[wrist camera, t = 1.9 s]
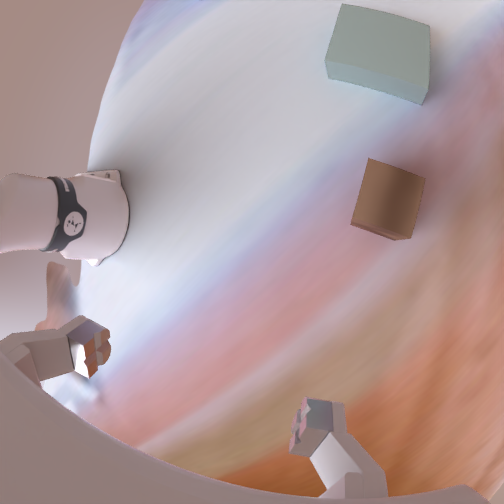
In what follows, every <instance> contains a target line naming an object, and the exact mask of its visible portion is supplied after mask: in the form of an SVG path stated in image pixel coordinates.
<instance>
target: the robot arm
mask: <svg viewBox="0 0 504 504" xmlns="http://www.w3.org/2000/svg"><path fill="white" fill-rule="evenodd" d="M128 219H129V208H128V201H127V197H126V194H125V192H124V190H123V188H122V186H121V180H120V173H119V171H118V170H105V171H96V172H87V173H79V174H76V175H75V176H74V177H70V178H66V179H64V178H61V177H47V178H42V177H36V176H30V175H24V174H18V173H12V174H9V175H7V176H5V177H4V178H2V179H1V180H0V254H1V253H4V252H9V251H15V250H25V249H39V250H40V251H46V252H59V251H60V253H61V254H62V255H63V256H64V258H67V259H86V260H87V261H88V262H89V263H90V265H92V266H98V265H99V264H100V263H101V261H102V260H103V259H104V258H105V257H108V256H110V255H112V254H113V253H114V252H115V251H116V250H117V249H118V248H119V247H120V245H121V243H122V241H123V239H124V237H125V234H126V231H127V226H128ZM109 338H110V331H109V330H108V329H107V328H105V327H103V326H101V325H99V324H98V323H96V322H94V321H92V320H90V319H88V318H86V317H85V316H83V315H79V316H77V317H76V318H74V319H73V320H71V321H70V322H68V323H67V324H65V325H64V326H63V327H61V328H60V329H58V330H56V329H48V330H40V331H30V332H20V333H12V334H10V335H9V336H7V337H6V338H4V339H3V340H1V341H0V504H490V502H489V501H488V500H487V499H486V498H484V497H483V496H482V495H480V494H479V493H478V492H477V491H475V490H474V489H472V488H471V487H469V486H467V485H465V484H461V485H456V486H452V487H448V488H444V489H439V490H435V491H429V492H424V493H418V494H411V495H404V496H395V497H388V491H387V484H386V477H385V472H384V471H383V469H382V468H381V467H380V466H379V465H378V464H377V463H376V462H375V461H374V460H373V458H372V457H371V456H370V455H369V454H368V453H367V452H366V451H365V450H364V448H363V447H362V446H361V445H360V444H359V443H358V442H357V440H356V439H355V438H354V437H353V436H352V435H351V434H347V426H346V417H345V409H344V404H343V403H341V402H334V401H327V400H321V399H316V398H310V397H305V398H304V399H303V401H302V403H301V409H299V410H297V412H296V414H295V416H294V419H293V422H292V427H291V433H292V434H293V436H292V438H291V440H290V445H289V454H295V455H300V456H306V457H310V460H311V462H312V463H313V465H314V467H315V469H316V471H317V472H318V474H319V476H320V478H321V479H322V481H323V483H324V485H325V486H326V488H327V491H326V492H324V493H323V494H322V495H321V496H319V497H318V498H315V497H304V496H294V495H287V494H280V493H273V492H267V491H262V490H257V489H252V488H247V487H243V486H239V485H235V484H231V483H227V482H223V481H219V480H216V479H213V478H209V477H206V476H203V475H200V474H197V473H194V472H191V471H188V470H185V469H183V468H180V467H177V466H175V465H172V464H170V463H167V462H165V461H162V460H160V459H157V458H155V457H153V456H151V455H148V454H146V453H144V452H142V451H140V450H138V449H136V448H134V447H132V446H130V445H128V444H126V443H124V442H122V441H120V440H118V439H116V438H114V437H113V436H111V435H109V434H107V433H106V432H104V431H102V430H100V429H99V428H97V427H95V426H94V425H92V424H91V423H89V422H87V421H86V420H84V419H83V418H81V417H80V416H78V415H77V414H75V413H74V412H72V411H71V410H69V409H68V408H66V407H65V406H64V405H62V404H61V403H59V402H58V401H57V400H55V399H54V398H53V397H51V396H50V395H49V394H48V393H46V392H45V391H44V390H43V389H42V386H41V383H40V381H43V380H46V379H50V378H53V377H56V376H59V375H63V374H66V373H69V372H72V371H74V370H75V371H77V372H78V373H80V374H82V375H83V376H85V377H87V378H90V377H91V376H92V375H93V374H94V373H95V372H96V371H97V370H98V366H99V365H104V364H105V363H106V361H107V360H108V358H109V356H110V353H111V345H110V343H109V342H108V339H109Z"/></svg>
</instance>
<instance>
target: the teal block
mask: <svg viewBox="0 0 504 504" xmlns="http://www.w3.org/2000/svg"><path fill="white" fill-rule="evenodd" d="M325 64H326V70H327V75H328V78H329V79H334V80H339V81H343V82H347V83H352V84H356V85H359V86H363V87H367V88H371V89H374V90H378V91H381V92H384V93H387V94H391V95H394V96H397V97H400V98H403V99H405V100H408V101H411V102H414V103H416V104H419V105H422V103H423V101H424V98H425V96H426V94H427V91H428V89H429V73H430V26H428V25H425V24H423V23H420V22H417V21H414V20H411V19H407V18H404V17H401V16H397V15H394V14H390V13H386V12H382V11H378V10H373V9H369V8H364V7H359V6H353V5H347V4H342V5H341V8H340V11H339V15H338V18H337V21H336V25H335V28H334V31H333V35H332V38H331V41H330V44H329V48H328V51H327V54H326V57H325Z"/></svg>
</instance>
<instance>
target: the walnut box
mask: <svg viewBox="0 0 504 504" xmlns="http://www.w3.org/2000/svg"><path fill="white" fill-rule="evenodd" d="M424 183H425V178H423V177H420V176H418V175H415V174H412V173H410V172H407V171H405V170H402V169H399V168H396V167H394V166H391V165H388V164H385V163H382V162H379V161H376V160H373V159H370V158H368V162H367V166H366V170H365V174H364V178H363V181H362V185H361V189H360V192H359V196H358V200H357V203H356V207H355V210H354V213H353V217H352V221H351V224H350V225H353V226H356V227H358V228H361V229H364V230H367V231H370V232H373V233H375V234H378V235H381V236H384V237H386V238H389V239H392V240H402V239H410V238H411V236H412V233H413V229H414V225H415V222H416V218H417V214H418V210H419V206H420V202H421V197H422V193H423V188H424Z"/></svg>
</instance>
